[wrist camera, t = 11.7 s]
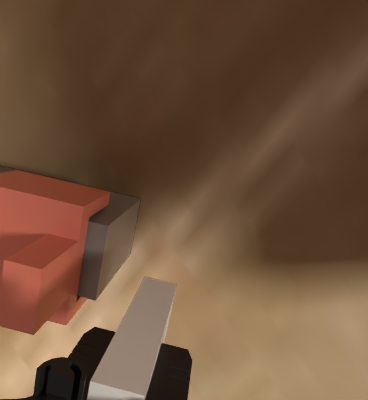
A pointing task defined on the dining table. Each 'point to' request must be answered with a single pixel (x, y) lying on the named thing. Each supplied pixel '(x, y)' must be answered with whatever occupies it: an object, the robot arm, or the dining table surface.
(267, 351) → the dining table surface
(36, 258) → the lock tab
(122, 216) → the tongs base
